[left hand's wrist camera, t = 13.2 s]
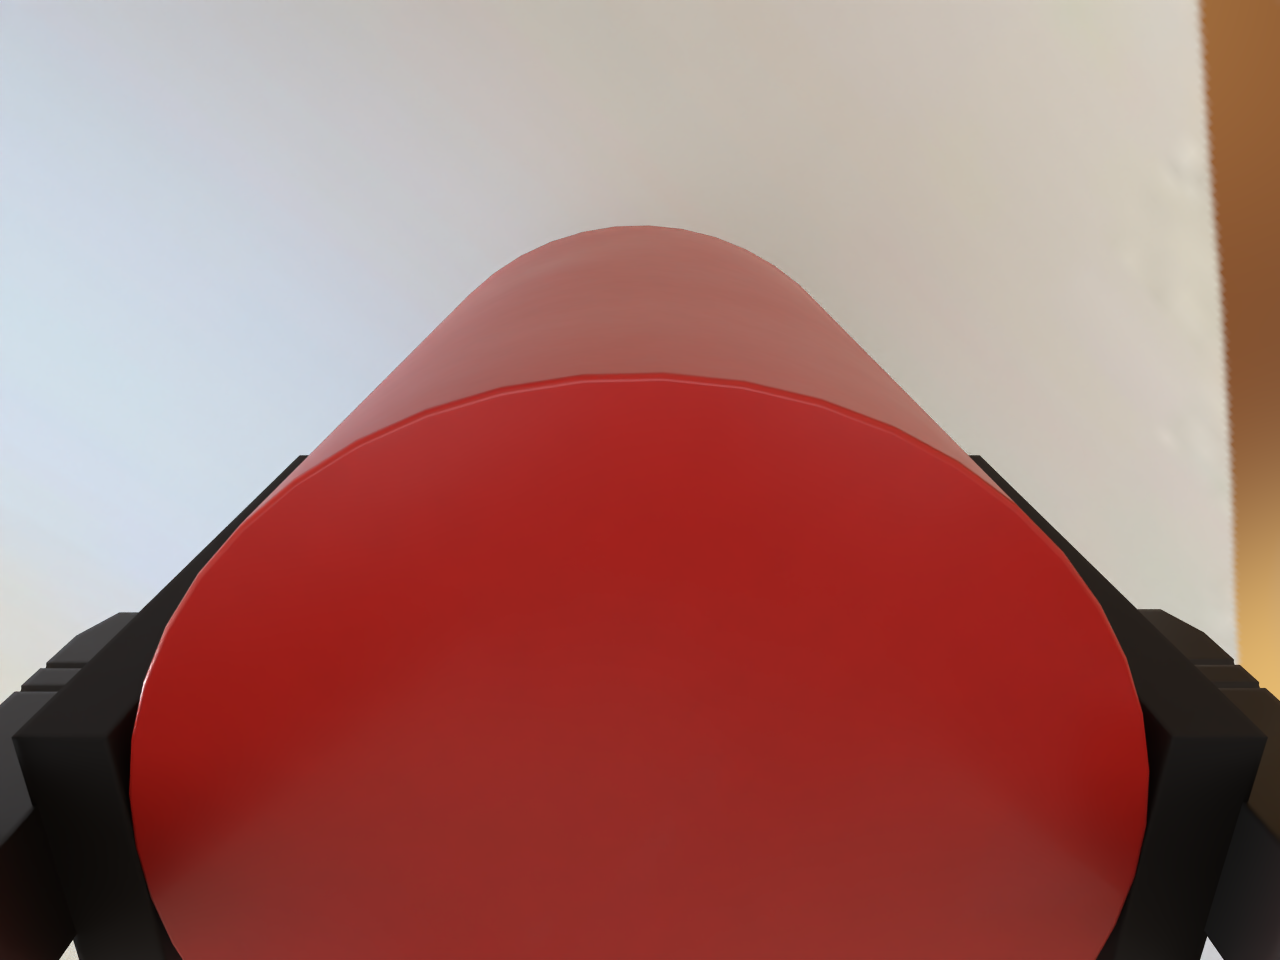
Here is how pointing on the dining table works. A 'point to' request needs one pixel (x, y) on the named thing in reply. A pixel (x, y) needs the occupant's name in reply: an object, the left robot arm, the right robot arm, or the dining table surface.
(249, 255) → the dining table surface
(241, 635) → the cylinder
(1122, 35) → the dining table surface
